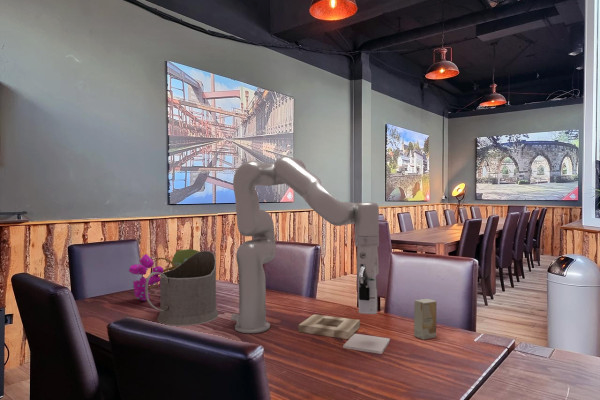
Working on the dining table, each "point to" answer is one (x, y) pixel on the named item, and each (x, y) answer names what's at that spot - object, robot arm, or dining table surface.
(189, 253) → the purple flowering plant
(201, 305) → the pitcher
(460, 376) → the dining table surface
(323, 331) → the frame
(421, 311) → the skincare box
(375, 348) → the plate
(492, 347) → the dining table surface
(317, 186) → the robot arm
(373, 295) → the syrup box
